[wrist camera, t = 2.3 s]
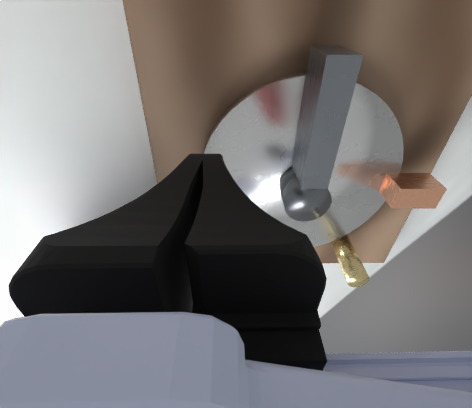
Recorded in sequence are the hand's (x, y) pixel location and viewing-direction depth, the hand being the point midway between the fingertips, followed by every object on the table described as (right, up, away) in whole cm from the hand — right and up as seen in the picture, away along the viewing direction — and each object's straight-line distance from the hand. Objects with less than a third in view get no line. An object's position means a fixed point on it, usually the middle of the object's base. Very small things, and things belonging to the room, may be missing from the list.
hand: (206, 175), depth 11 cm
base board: (+6, +2, +10) cm, 12 cm away
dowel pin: (+10, -4, +13) cm, 17 cm away
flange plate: (+7, +2, +8) cm, 11 cm away
